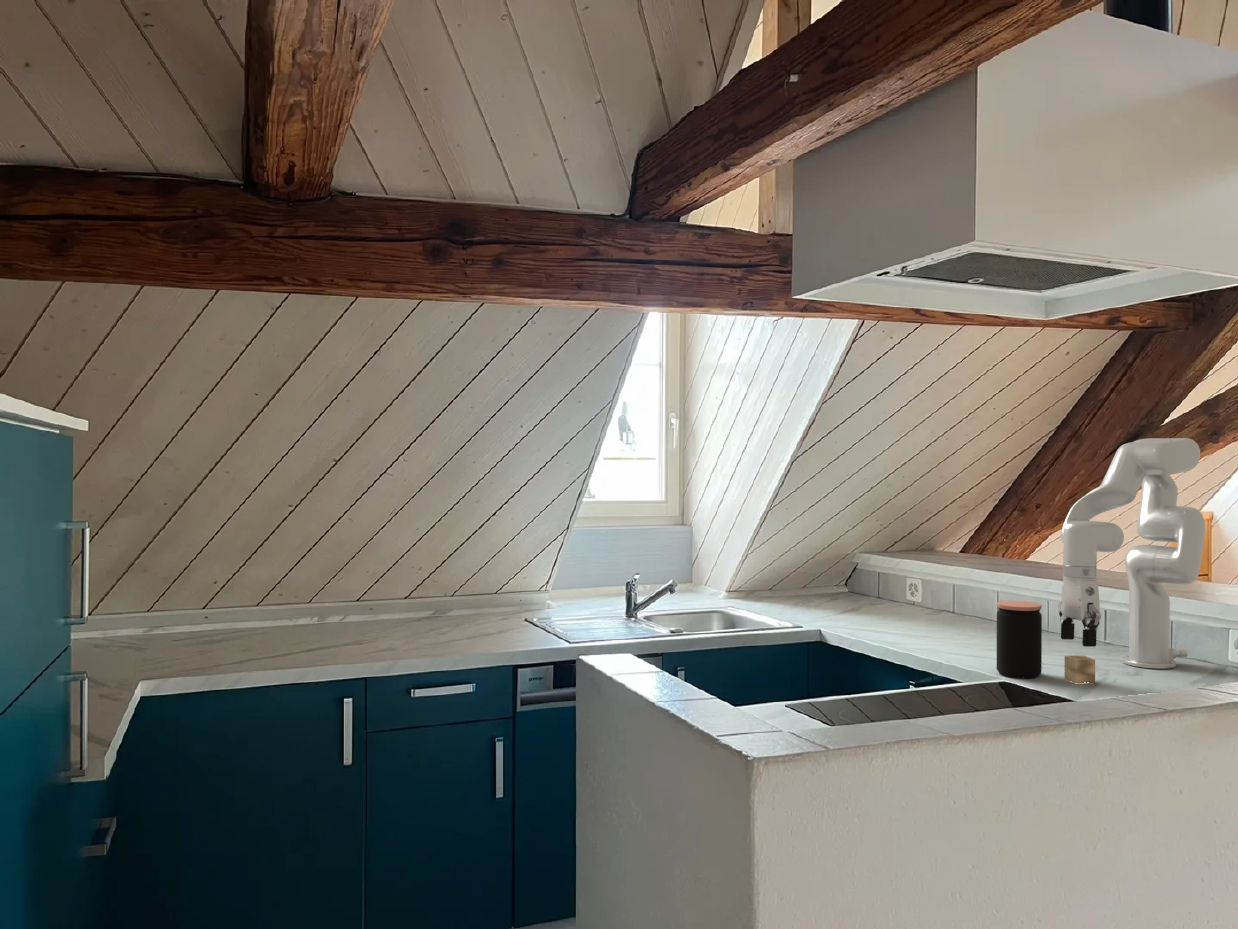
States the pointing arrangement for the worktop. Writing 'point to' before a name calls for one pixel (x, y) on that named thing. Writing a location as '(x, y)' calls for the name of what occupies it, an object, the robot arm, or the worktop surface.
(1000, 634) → the coffee jar
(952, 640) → the worktop surface
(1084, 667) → the oak block
